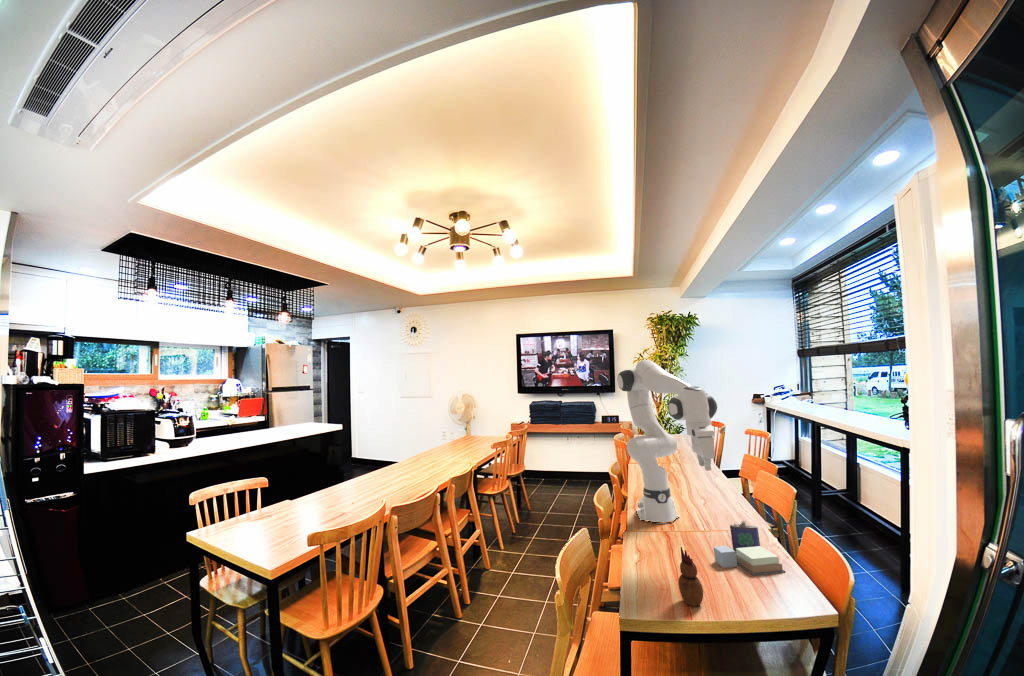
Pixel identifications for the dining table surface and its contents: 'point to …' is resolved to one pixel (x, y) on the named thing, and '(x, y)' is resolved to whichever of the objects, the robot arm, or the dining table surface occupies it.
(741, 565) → the slate mat
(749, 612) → the dining table surface
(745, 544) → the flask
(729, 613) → the dining table surface
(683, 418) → the robot arm
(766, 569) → the plinth
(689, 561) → the wooden figurine
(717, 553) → the cube
